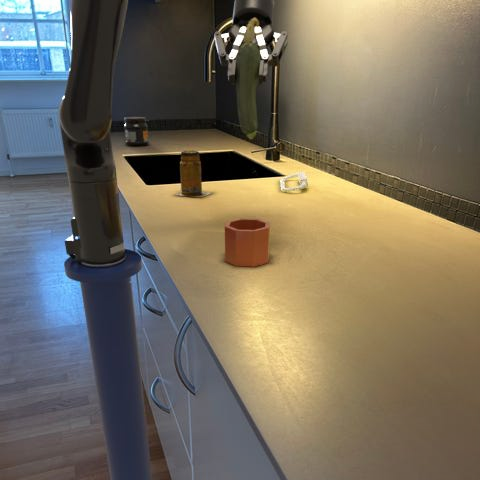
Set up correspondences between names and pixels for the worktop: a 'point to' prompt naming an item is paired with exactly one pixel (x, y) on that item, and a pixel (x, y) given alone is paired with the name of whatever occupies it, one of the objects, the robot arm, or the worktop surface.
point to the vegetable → (248, 80)
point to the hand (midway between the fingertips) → (247, 80)
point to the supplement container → (136, 131)
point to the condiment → (191, 175)
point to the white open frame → (301, 179)
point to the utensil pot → (247, 242)
